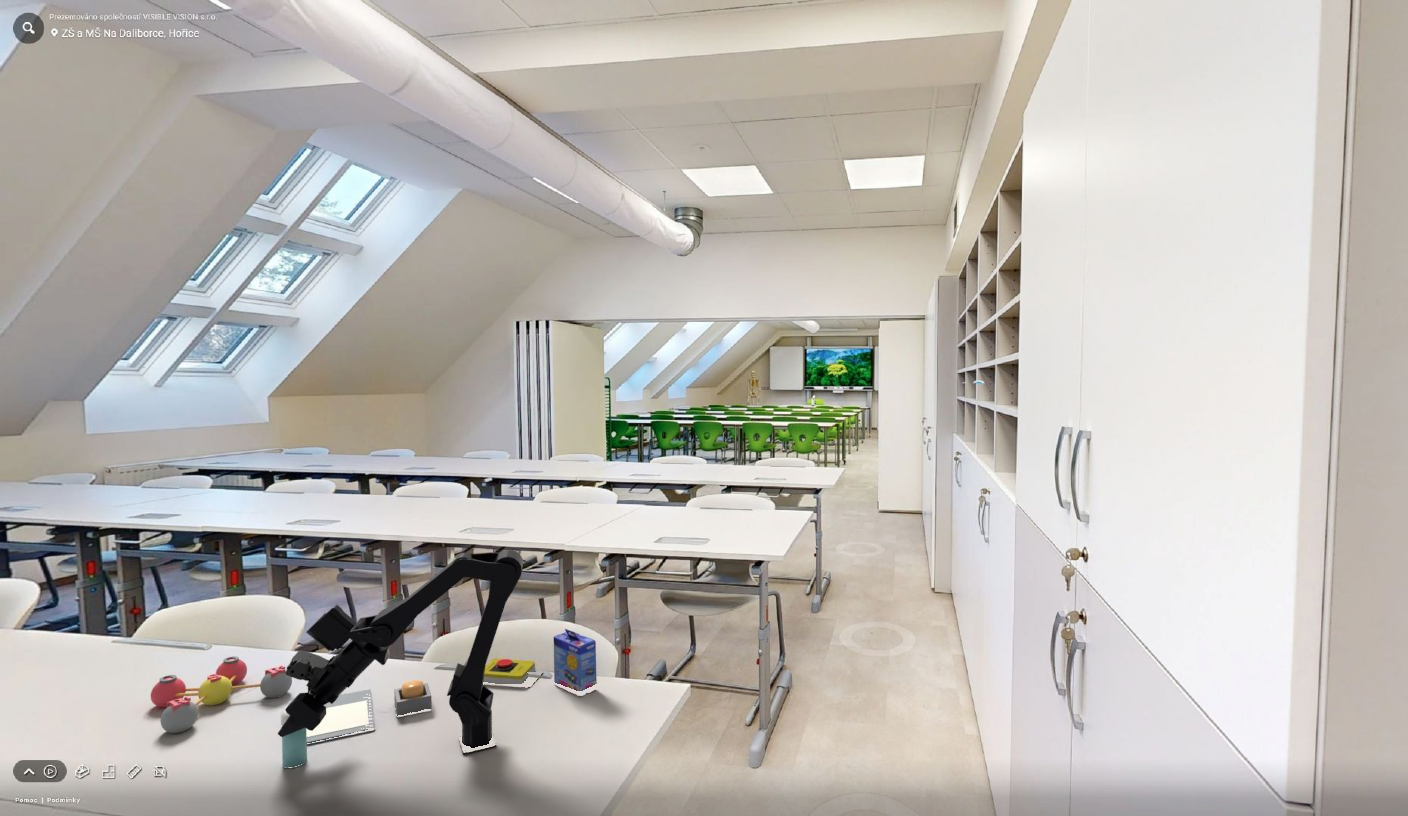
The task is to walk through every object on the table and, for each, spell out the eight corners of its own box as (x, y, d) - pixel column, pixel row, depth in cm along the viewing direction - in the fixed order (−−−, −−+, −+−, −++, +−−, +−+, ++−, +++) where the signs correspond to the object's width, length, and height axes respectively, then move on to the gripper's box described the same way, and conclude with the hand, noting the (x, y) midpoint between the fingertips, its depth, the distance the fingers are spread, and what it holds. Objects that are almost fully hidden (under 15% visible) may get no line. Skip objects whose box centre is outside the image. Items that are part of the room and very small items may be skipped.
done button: (424, 700, 151) (424, 686, 151) (402, 704, 149) (402, 690, 149) (422, 691, 155) (422, 679, 155) (401, 696, 153) (401, 682, 153)
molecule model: (168, 742, 138) (167, 711, 138) (128, 713, 149) (127, 684, 149) (297, 695, 159) (297, 667, 158) (254, 672, 170) (253, 647, 170)
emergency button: (488, 652, 173) (544, 656, 171) (488, 669, 174) (544, 673, 171) (470, 667, 164) (529, 672, 162) (470, 685, 164) (530, 690, 162)
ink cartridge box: (552, 686, 164) (552, 626, 163) (570, 678, 168) (570, 620, 167) (579, 698, 157) (579, 636, 157) (597, 690, 162) (597, 630, 161)
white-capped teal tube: (307, 765, 130) (306, 713, 129) (281, 770, 128) (280, 718, 127) (307, 754, 133) (307, 704, 133) (282, 759, 131) (281, 708, 131)
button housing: (431, 711, 151) (431, 695, 151) (396, 718, 148) (396, 702, 147) (427, 697, 157) (427, 682, 157) (394, 704, 154) (394, 689, 154)
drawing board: (374, 730, 142) (374, 727, 142) (284, 749, 135) (284, 746, 135) (370, 691, 160) (370, 688, 160) (290, 706, 152) (290, 703, 152)
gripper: (331, 621, 139) (272, 678, 137) (297, 657, 121) (228, 724, 119) (373, 655, 141) (315, 713, 139) (346, 697, 123) (279, 763, 121)
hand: (286, 726), depth 130 cm, fingers open, 6 cm apart
